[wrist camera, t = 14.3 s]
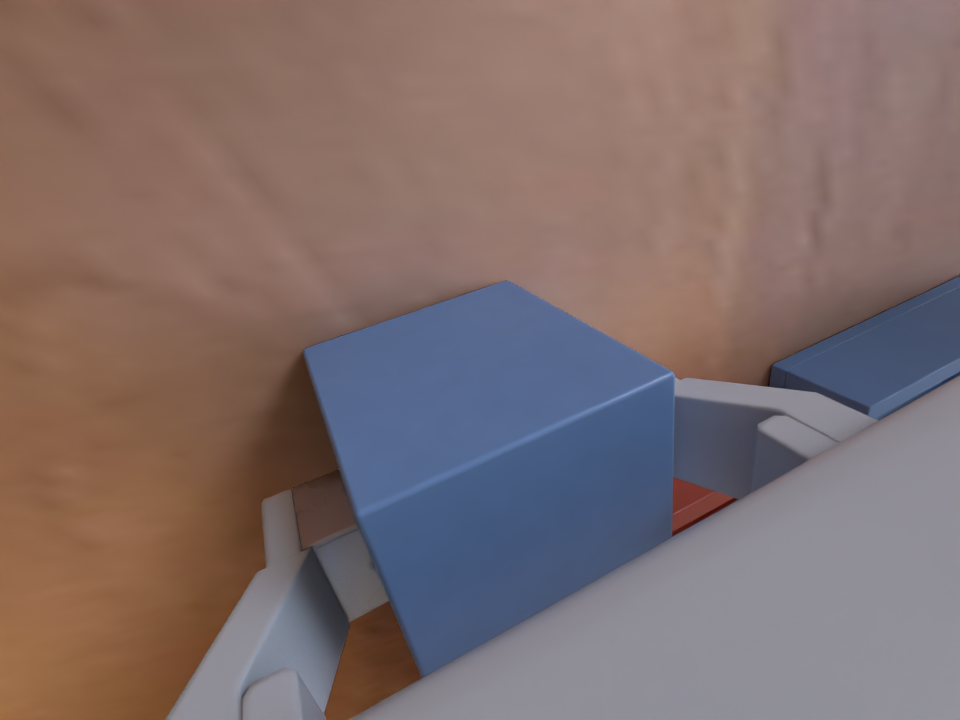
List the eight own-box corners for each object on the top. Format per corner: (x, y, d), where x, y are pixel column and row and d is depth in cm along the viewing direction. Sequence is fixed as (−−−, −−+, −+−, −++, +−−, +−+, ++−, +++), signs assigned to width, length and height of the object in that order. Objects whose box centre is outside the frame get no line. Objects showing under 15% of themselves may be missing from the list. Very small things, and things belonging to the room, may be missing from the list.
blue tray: (771, 364, 16) (869, 408, 14) (968, 271, 19) (1079, 292, 16) (744, 572, 21) (813, 631, 18) (904, 472, 24) (982, 513, 21)
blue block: (300, 347, 10) (352, 516, 5) (507, 278, 11) (677, 371, 7) (366, 514, 12) (441, 725, 8) (533, 440, 13) (673, 585, 9)
